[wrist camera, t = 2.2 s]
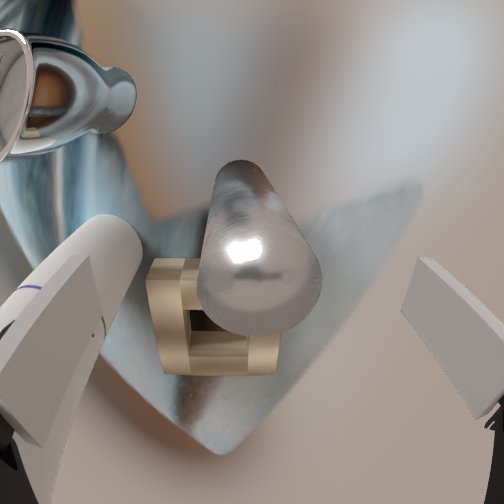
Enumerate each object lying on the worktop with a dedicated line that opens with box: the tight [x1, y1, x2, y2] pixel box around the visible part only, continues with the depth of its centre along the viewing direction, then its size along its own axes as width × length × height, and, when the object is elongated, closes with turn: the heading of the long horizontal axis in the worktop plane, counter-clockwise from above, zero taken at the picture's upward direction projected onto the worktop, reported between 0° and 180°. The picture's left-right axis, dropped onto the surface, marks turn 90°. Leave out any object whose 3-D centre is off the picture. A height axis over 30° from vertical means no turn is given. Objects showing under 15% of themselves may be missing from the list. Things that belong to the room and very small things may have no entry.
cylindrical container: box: [0, 214, 143, 504], centre depth 15 cm, size 7×7×25 cm
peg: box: [197, 160, 322, 336], centre depth 17 cm, size 4×4×16 cm
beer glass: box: [0, 29, 137, 166], centre depth 13 cm, size 7×7×15 cm
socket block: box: [145, 258, 281, 376], centre depth 28 cm, size 12×12×4 cm
